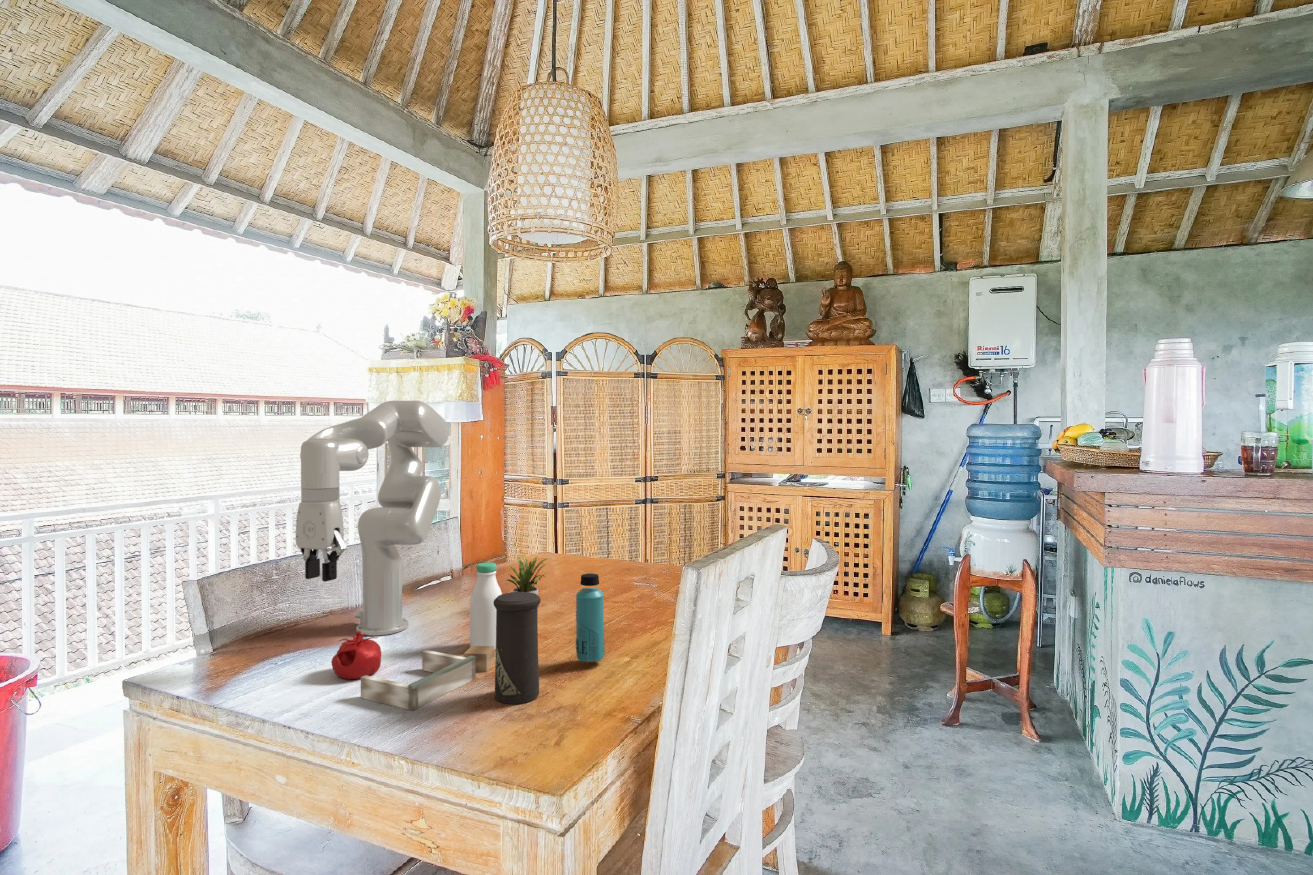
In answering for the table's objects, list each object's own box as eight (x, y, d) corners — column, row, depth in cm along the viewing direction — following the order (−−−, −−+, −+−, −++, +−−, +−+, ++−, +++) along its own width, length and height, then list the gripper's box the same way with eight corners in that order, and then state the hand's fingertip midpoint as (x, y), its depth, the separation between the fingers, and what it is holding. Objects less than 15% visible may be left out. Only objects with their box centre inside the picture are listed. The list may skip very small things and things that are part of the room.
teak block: (463, 671, 141) (463, 653, 141) (472, 663, 146) (472, 645, 146) (486, 672, 140) (486, 653, 140) (494, 664, 145) (494, 646, 145)
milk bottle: (494, 653, 152) (494, 568, 151) (463, 651, 153) (463, 566, 153) (508, 643, 159) (508, 561, 159) (479, 641, 161) (479, 560, 160)
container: (497, 687, 132) (497, 589, 131) (542, 686, 132) (542, 588, 132) (490, 705, 123) (489, 600, 123) (538, 704, 124) (538, 599, 124)
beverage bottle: (609, 660, 147) (609, 572, 147) (597, 670, 141) (597, 578, 141) (583, 657, 149) (583, 569, 149) (570, 667, 143) (570, 576, 143)
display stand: (360, 697, 127) (360, 674, 127) (426, 668, 142) (426, 647, 142) (413, 710, 121) (413, 685, 121) (475, 678, 137) (475, 656, 137)
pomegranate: (371, 663, 146) (372, 621, 146) (389, 674, 139) (390, 630, 139) (324, 673, 139) (324, 630, 139) (340, 686, 132) (341, 640, 132)
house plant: (565, 609, 189) (565, 552, 189) (532, 620, 177) (532, 561, 177) (529, 601, 197) (528, 547, 196) (494, 612, 185) (494, 555, 185)
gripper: (278, 496, 144) (279, 578, 144) (332, 499, 136) (333, 586, 137) (309, 492, 150) (310, 572, 151) (362, 496, 143) (362, 579, 143)
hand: (321, 578), depth 144 cm, fingers open, 4 cm apart
